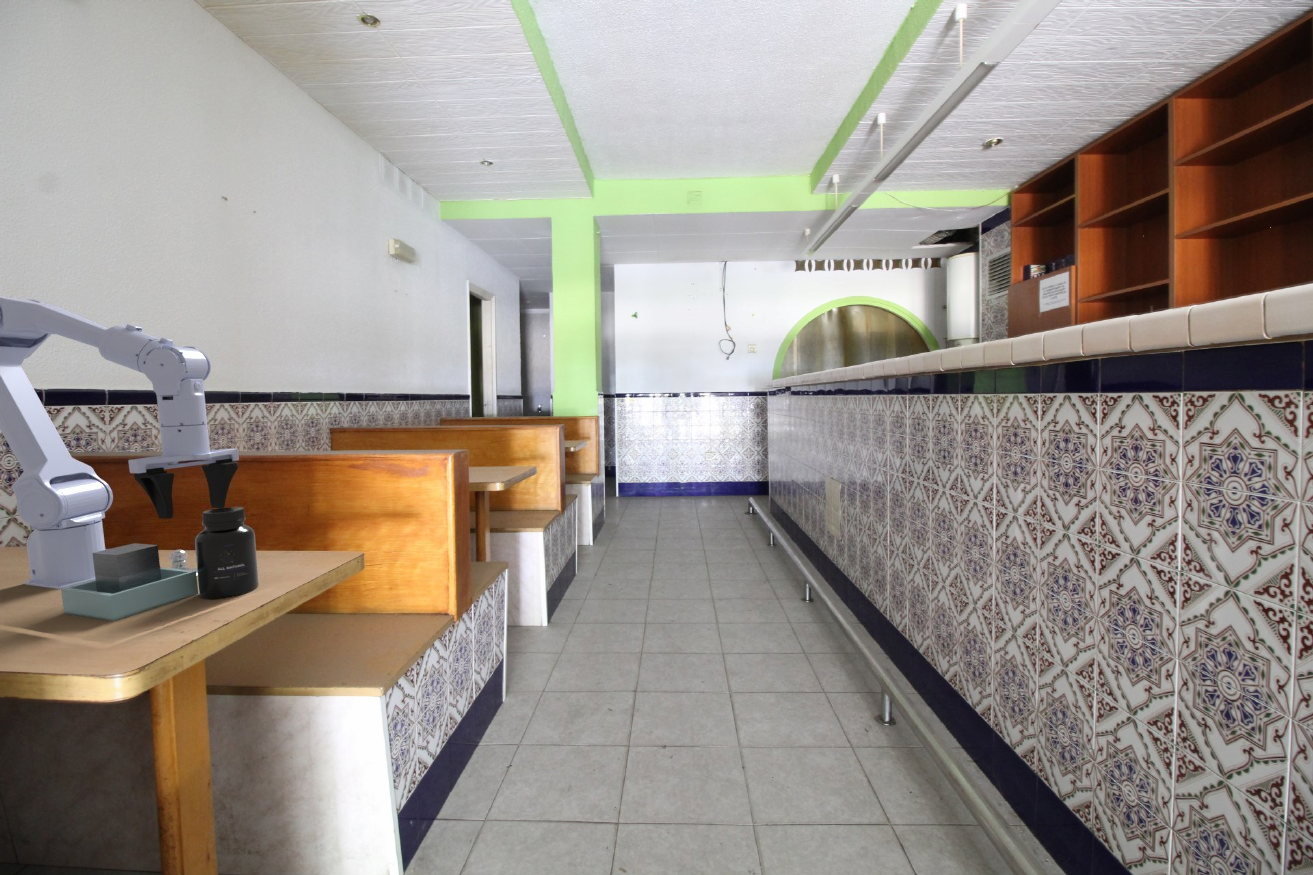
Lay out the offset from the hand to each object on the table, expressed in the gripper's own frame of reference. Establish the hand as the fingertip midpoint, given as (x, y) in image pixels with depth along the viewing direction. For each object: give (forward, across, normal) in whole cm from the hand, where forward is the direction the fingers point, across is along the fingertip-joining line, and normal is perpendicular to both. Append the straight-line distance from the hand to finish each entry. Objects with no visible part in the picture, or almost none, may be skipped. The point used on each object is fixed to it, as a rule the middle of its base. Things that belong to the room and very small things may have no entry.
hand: (193, 512), depth 92 cm
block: (+9, -12, -5) cm, 16 cm away
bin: (+10, -12, -6) cm, 17 cm away
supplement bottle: (+10, -5, -14) cm, 18 cm away
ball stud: (+10, -2, +2) cm, 10 cm away
